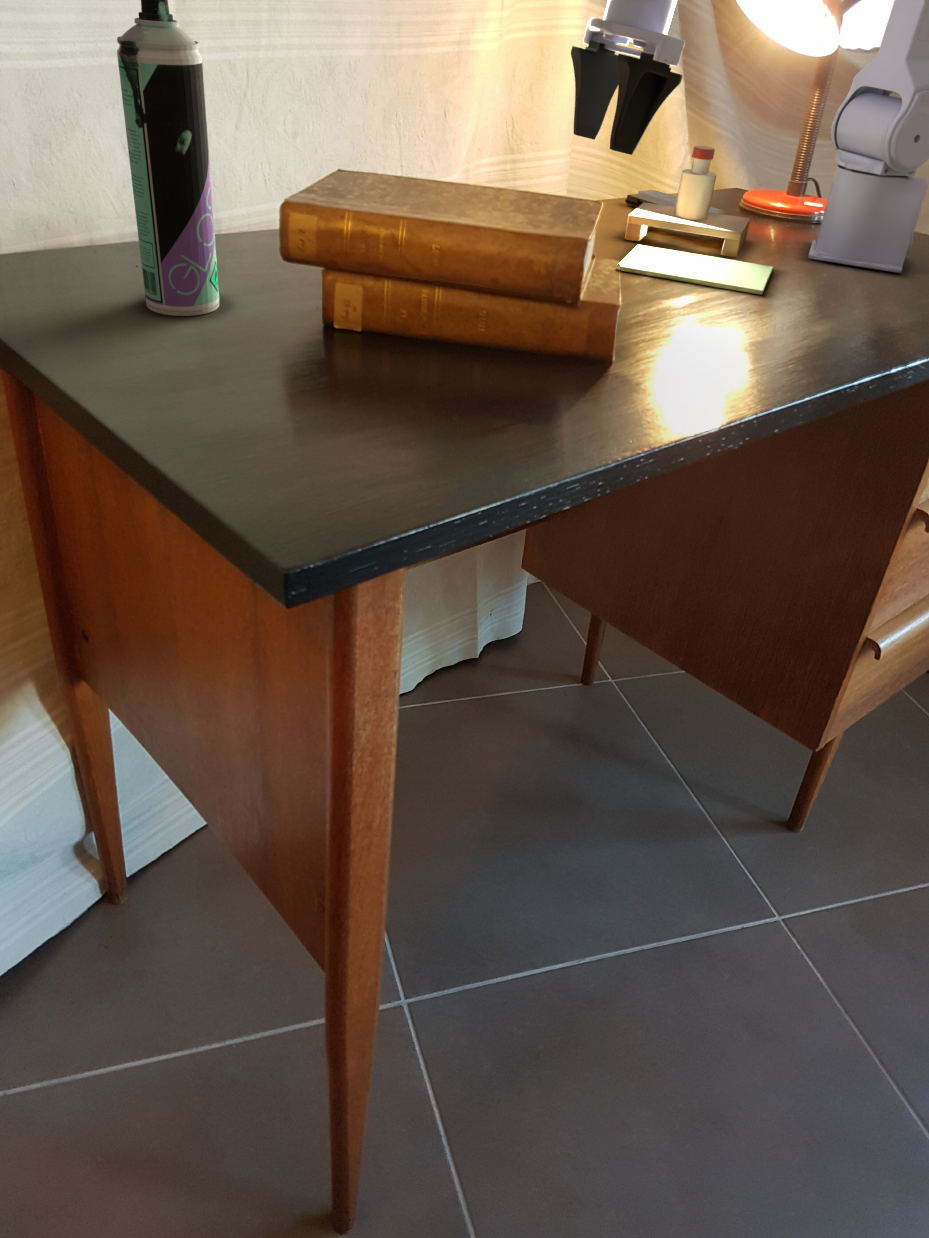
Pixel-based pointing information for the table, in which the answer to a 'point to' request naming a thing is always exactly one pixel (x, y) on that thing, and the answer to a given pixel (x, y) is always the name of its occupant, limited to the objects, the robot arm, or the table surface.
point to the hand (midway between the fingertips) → (601, 144)
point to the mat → (697, 269)
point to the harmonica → (658, 199)
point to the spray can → (169, 162)
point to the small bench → (688, 226)
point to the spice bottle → (696, 186)
